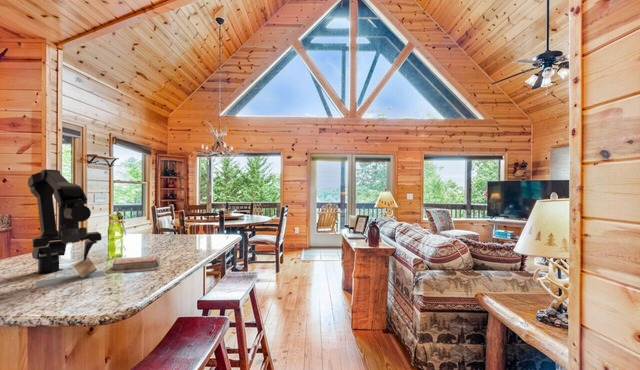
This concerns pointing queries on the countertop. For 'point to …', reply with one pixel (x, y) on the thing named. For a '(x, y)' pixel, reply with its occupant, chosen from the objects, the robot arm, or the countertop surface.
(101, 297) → the countertop surface
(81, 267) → the block
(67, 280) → the mat
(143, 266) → the reddish brown brick
